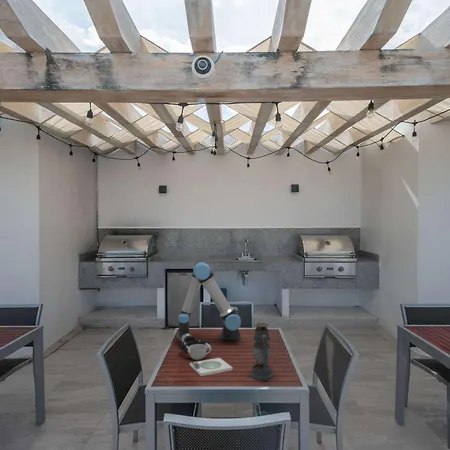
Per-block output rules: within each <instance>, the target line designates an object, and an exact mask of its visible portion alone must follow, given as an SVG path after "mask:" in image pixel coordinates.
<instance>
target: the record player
mask: <svg viewBox="0 0 450 450" xmlns="http://www.w3.org/2000/svg"><path fill="white" fill-rule="evenodd" d="M189 366H190V367H191V368H192V369H193V370H194V371H195V372H196V373H197V374H198V375H199V376H200V377H202V376H203V377H204V376H210V375H214V374H219V373H224V372H229V371H233V366H231V365H230V363H227V362H226V361H224V360H223V359H222V358H221V357H216V358H211V359H205V360H197V361H194V362H193V361H192V360H191V361H190V362H189Z"/></svg>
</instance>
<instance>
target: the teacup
mask: <svg viewBox="0 0 450 450" xmlns="http://www.w3.org/2000/svg"><path fill="white" fill-rule="evenodd" d="M210 346H211V345H210ZM210 346H207V347H206V345H203V344H195V345H191V346H189V348H190V349H191V353H189V356H190V358H191V359H192V360H194V361H195V360H196V361H202V360H203V359H204V358H205V357H206V356H207V355H209V354H210V353H211V351H212V347H210ZM207 348H210V350H209V349H207ZM207 350H208V351H207Z"/></svg>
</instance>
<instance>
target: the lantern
mask: <svg viewBox="0 0 450 450" xmlns="http://www.w3.org/2000/svg"><path fill="white" fill-rule="evenodd" d="M254 326H255V327H256V328H255V329H254V332H255V333H254V334H253V339H252V341H255V342H254V344H253V351H252V357H253V359H254V360H255V364H253V365H252V368H251V373H250V377H251V379H253V380H254V379H255V380H257V381H268V380H271V379H273V378H274V373H273V368H272V366H271V365H269V361H270V359H272V361H273V362H274V363H275V364H276V365H277V366H278V365H279V363H278V361H277V358H276V357H275V354H274V352H273V350H272V347H271V344H270V343H269V342H270V341H271V340H272V339H271V338H270V333H269V332H270V331H269V329H268V327H269V326H270V325H269V323H266V322H265V323H264V322H259V323H258V322H257V323H254ZM271 354H272V355H273V357H272V355H271ZM273 358H274V359H273Z"/></svg>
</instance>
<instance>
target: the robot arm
mask: <svg viewBox="0 0 450 450" xmlns="http://www.w3.org/2000/svg"><path fill="white" fill-rule="evenodd" d="M214 277H215V274H214V273H213V271H212V269H211V268H210V266H209V264H208V262H206V261H204V260H199V261H197V262H195V264H194V265H193V271H192V274H191V281H190V284H189V287H188V290H187V292H186V293H187V294H186V296H185V299H184V302H183V305H182V308H181V311H180V314H178V319H177V321H178V331H177V333H176V337H177V339H178V341H180V342H181V345H180V351H183V352H187V353H188V354H190V353H191V349H190V348H189V346H191V345H195V344H203V345H206V347H207V346H210V347H211V342H210V341H207V340H203V339H198V340H196V338H195V336H193V335H192V334H190V318H191V315H192V311H193V309H194V306H195V302H196V300H197V297H198V295H199V292H200V288H201V286H202V285H203V286H204V288H205V290H206V291H207V293H208V294H209V296H210V298H211V300H212V302H213V303H214V305H215V307H217V310H218V311H219V313H220V314H219V317H220V319H221V320H222V330H221V332H220V337H219V338H220V339H221V340H222V341H226V342H229V341H230V342H231V341H232V342H234V341H238V340H240V339H241V332H240V330H239V328H240V327H241V324H242V318H241V317H240V315H239V309H238V307H236V306H231V305H230V303H229V302H228V299H227V298H226V297H225V295H224V293H223V291H222V290H221V288H220V286H219V285H218V283H217V281H216V280H215V278H214ZM211 348H212V347H211ZM207 350H208V351H209V350H210V348H207Z"/></svg>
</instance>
